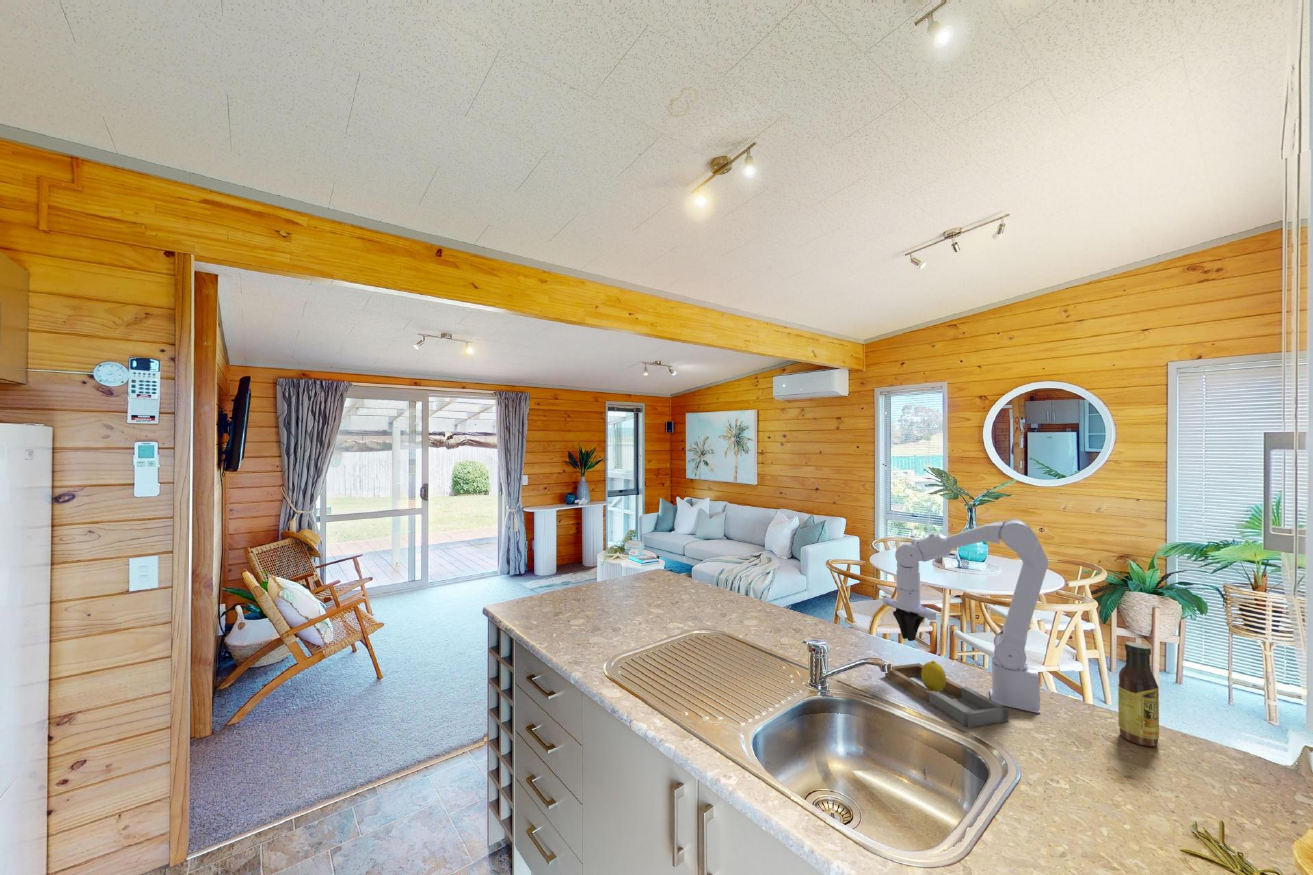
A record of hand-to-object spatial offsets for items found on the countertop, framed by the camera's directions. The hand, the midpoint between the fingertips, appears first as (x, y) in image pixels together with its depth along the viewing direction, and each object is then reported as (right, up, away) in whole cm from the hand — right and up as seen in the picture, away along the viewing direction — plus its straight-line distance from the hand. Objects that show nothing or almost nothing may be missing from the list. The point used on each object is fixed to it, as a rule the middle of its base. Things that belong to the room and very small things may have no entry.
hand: (908, 639), depth 136 cm
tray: (+5, -10, -18) cm, 21 cm away
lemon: (+2, -10, -9) cm, 14 cm away
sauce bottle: (+35, -10, -29) cm, 46 cm away
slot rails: (+1, -10, -6) cm, 12 cm away
